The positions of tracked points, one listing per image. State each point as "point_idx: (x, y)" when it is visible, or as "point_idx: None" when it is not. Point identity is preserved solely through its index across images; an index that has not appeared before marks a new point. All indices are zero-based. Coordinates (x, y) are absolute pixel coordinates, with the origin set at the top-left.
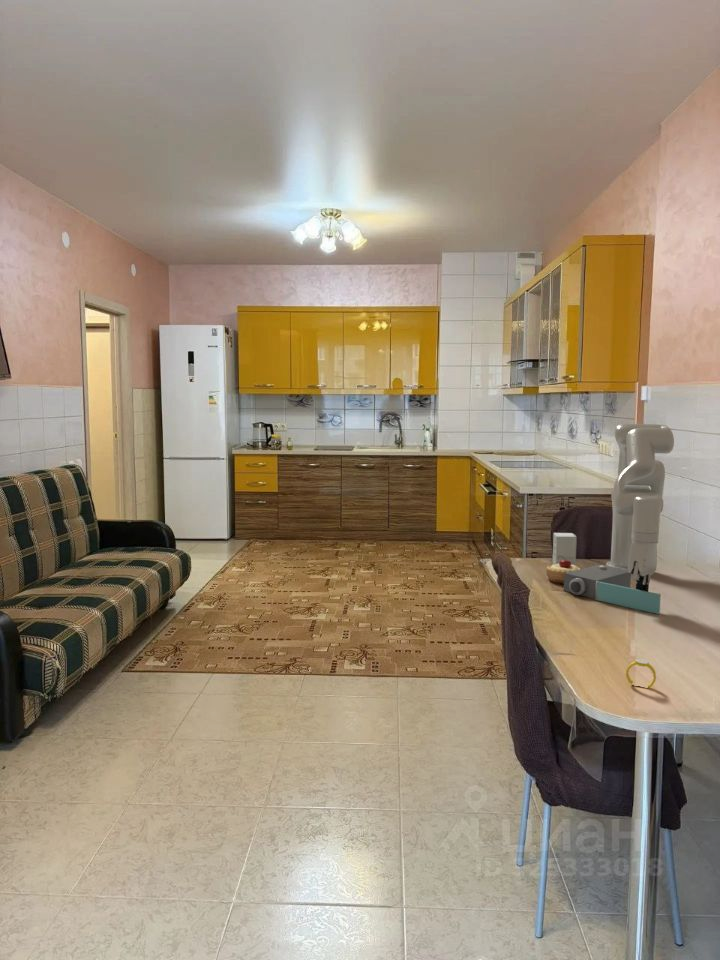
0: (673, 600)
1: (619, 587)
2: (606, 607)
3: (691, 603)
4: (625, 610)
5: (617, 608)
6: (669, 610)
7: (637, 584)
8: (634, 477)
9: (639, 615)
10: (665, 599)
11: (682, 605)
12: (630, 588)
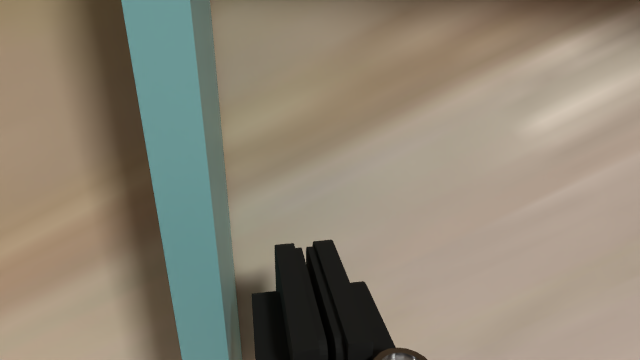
0: (617, 258)
1: (145, 119)
2: (2, 8)
3: (602, 339)
4: (99, 187)
5: (87, 108)
6: None
7: (292, 354)
8: None
9: (80, 315)
10: (617, 218)
11: (533, 335)
12: (190, 279)
